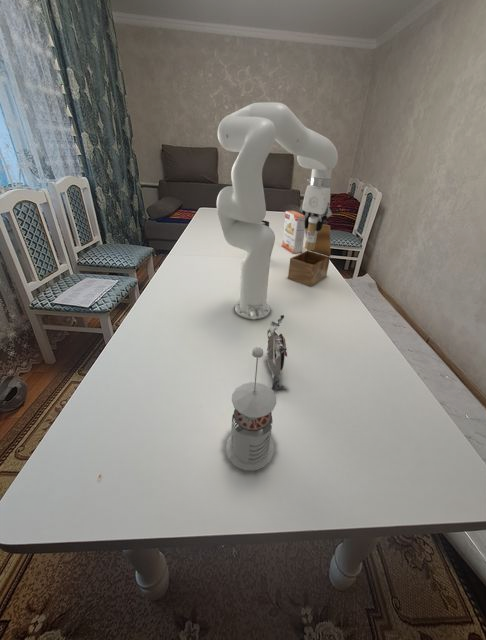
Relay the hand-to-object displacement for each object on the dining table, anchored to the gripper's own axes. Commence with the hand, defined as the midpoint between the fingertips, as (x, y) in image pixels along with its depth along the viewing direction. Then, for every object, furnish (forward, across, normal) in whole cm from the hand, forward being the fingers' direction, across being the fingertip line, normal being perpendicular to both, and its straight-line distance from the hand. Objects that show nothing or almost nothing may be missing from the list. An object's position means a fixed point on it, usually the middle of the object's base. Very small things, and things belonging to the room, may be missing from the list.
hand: (312, 228), depth 123 cm
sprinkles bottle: (+9, 0, 0) cm, 9 cm away
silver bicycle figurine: (+24, +24, -58) cm, 68 cm away
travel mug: (+24, -30, +4) cm, 39 cm away
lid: (+6, -1, +8) cm, 10 cm away
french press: (+24, +33, -80) cm, 90 cm away
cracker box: (+24, -28, +34) cm, 50 cm away
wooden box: (+24, -1, +4) cm, 24 cm away
